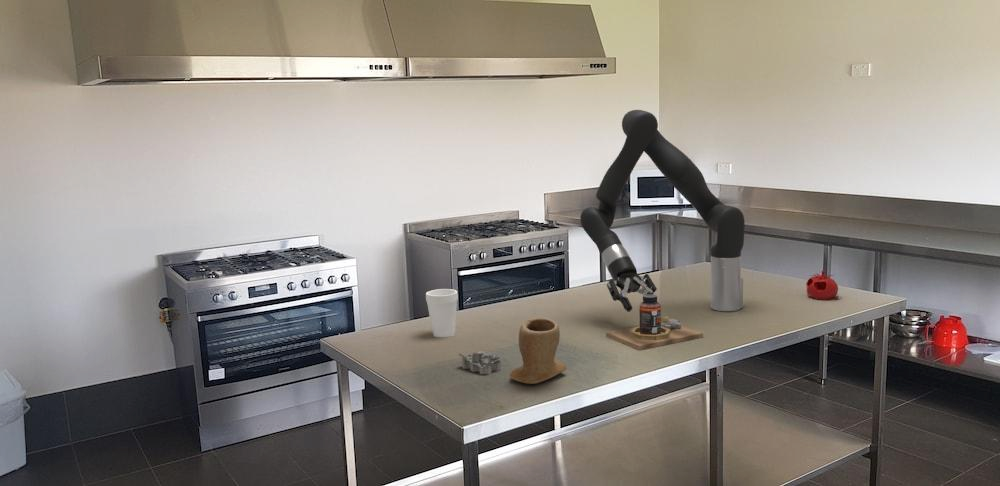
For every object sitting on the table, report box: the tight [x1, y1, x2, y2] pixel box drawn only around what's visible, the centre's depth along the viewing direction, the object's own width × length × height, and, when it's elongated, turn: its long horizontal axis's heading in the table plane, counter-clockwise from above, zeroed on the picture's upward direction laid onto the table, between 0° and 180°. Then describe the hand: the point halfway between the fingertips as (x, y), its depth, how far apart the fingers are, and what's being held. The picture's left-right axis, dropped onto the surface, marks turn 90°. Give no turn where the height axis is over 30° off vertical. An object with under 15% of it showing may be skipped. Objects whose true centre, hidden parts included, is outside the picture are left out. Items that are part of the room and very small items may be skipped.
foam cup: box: [425, 288, 459, 338], centre depth 234 cm, size 10×9×13 cm
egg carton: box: [458, 350, 504, 375], centre depth 202 cm, size 11×8×4 cm
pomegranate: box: [805, 270, 839, 300], centre depth 259 cm, size 10×10×9 cm
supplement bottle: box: [639, 293, 662, 335], centre depth 220 cm, size 6×6×11 cm
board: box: [605, 316, 704, 351], centre depth 223 cm, size 22×16×4 cm
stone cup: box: [509, 317, 568, 385], centre depth 191 cm, size 15×12×15 cm
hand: (642, 308), depth 223 cm, fingers open, 8 cm apart
